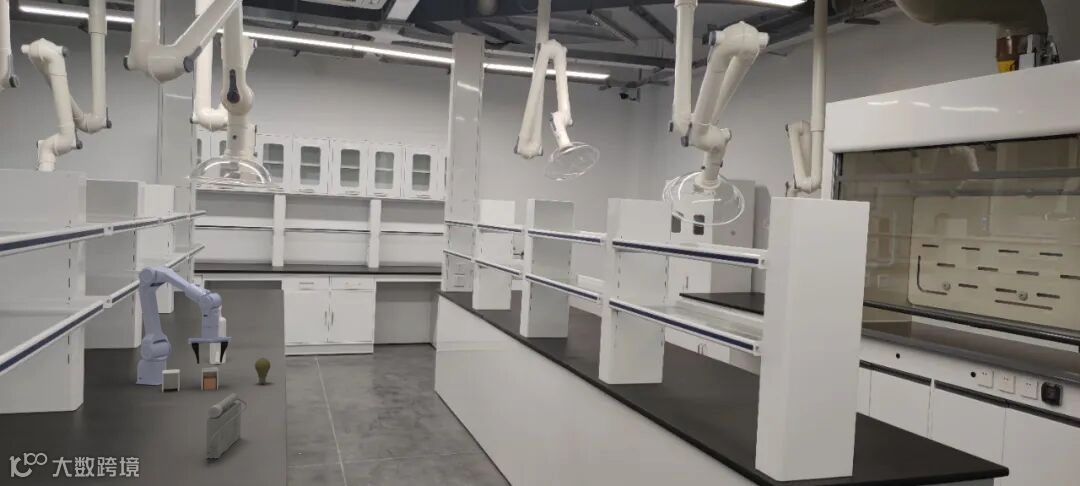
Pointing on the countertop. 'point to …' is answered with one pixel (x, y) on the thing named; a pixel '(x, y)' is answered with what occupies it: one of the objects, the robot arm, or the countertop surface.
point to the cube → (210, 382)
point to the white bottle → (216, 347)
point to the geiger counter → (223, 425)
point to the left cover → (171, 379)
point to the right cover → (209, 372)
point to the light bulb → (262, 369)
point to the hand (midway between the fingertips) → (209, 362)
